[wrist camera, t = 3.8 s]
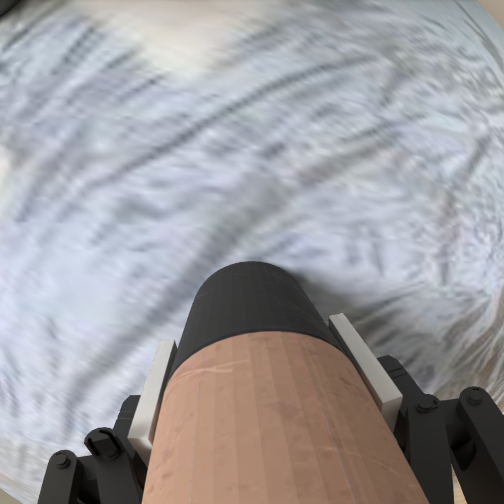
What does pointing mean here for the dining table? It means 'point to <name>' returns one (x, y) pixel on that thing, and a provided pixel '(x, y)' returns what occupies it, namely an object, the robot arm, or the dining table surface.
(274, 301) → the travel mug
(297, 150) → the dining table surface
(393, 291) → the dining table surface
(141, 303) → the dining table surface
